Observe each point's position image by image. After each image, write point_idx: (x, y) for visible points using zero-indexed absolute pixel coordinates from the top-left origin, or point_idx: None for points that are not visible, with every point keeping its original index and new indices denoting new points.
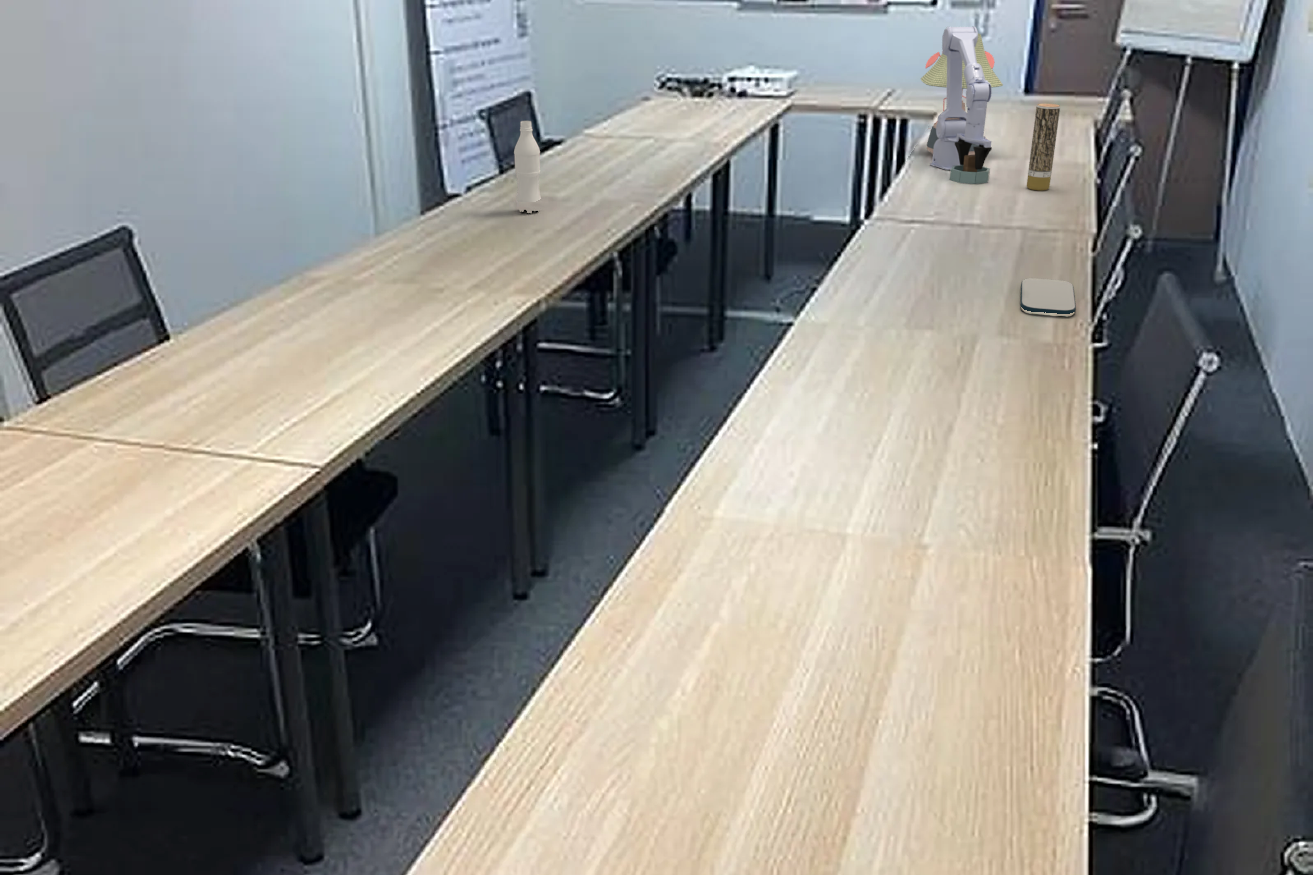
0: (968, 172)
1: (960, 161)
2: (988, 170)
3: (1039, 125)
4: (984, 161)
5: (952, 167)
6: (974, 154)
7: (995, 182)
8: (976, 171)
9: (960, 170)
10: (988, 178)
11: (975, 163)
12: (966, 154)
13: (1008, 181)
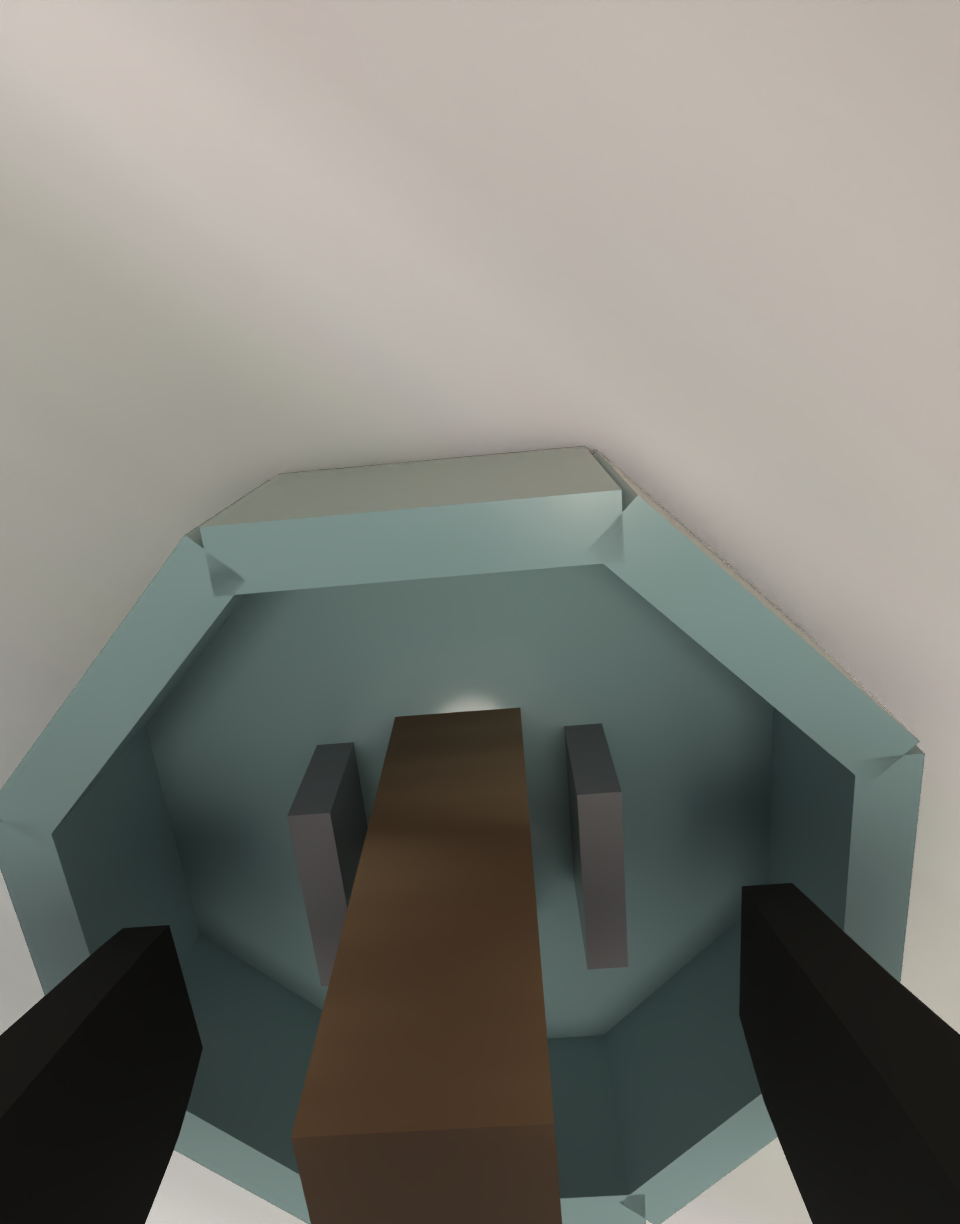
0: (764, 1135)
1: (163, 1144)
2: (831, 686)
3: None
4: (937, 1015)
5: (244, 1174)
6: (304, 1155)
7: (866, 473)
8: (526, 791)
9: (137, 876)
10: (724, 563)
11: (816, 1183)
12: (19, 1197)
13: (932, 110)
